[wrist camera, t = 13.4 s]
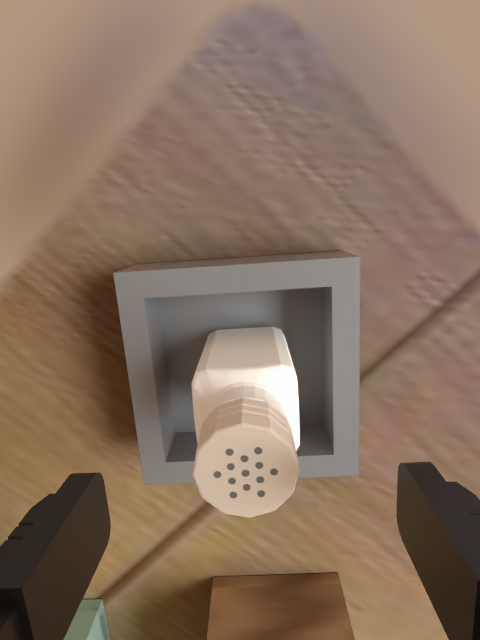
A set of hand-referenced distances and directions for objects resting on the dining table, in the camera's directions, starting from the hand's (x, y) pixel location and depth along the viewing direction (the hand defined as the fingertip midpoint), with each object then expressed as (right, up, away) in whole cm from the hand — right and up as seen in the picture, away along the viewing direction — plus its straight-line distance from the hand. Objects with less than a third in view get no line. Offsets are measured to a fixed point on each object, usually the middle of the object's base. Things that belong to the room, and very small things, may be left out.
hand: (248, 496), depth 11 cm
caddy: (0, +3, +11) cm, 11 cm away
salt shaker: (0, +3, +10) cm, 11 cm away
